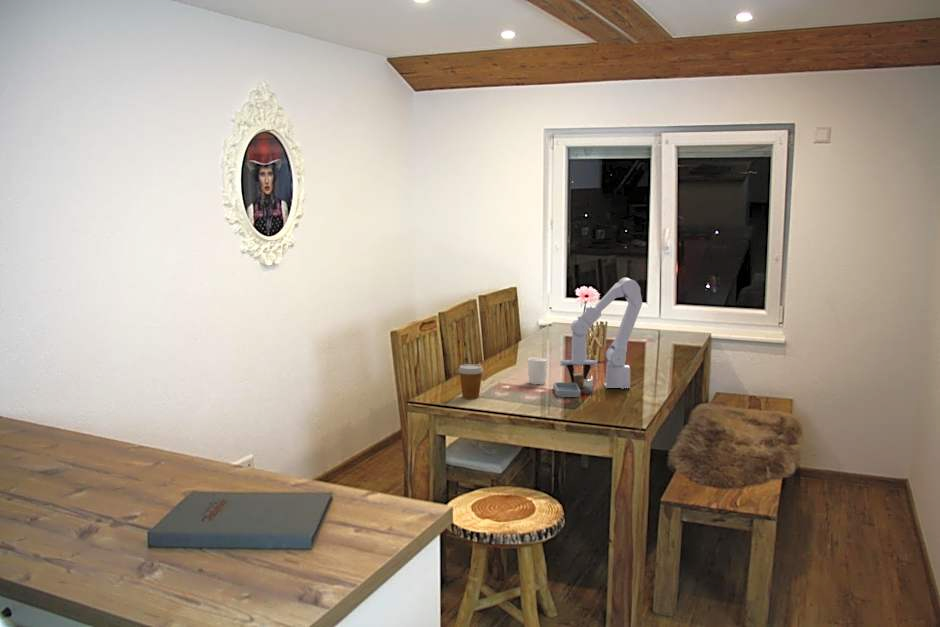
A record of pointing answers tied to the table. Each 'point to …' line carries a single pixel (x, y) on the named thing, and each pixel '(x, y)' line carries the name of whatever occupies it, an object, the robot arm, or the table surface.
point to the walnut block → (579, 379)
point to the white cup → (537, 370)
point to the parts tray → (566, 389)
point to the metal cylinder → (588, 385)
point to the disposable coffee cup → (470, 380)
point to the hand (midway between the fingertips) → (578, 383)
